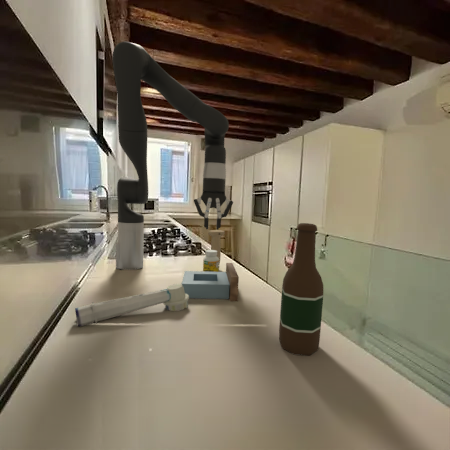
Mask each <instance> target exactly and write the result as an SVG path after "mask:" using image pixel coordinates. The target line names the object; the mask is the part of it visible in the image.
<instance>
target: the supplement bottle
mask: <svg viewBox="0 0 450 450" xmlns="http://www.w3.org/2000/svg"><path fill="white" fill-rule="evenodd" d="M204 255H205V256H204V257H203V259H202V260H203V262H202V271H209V272H220V270H219V269H220V264H219V258H218V257H217V251H216V250H211V249H206V250H205V254H204Z"/></svg>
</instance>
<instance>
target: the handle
mask: <svg viewBox="0 0 450 450" xmlns="http://www.w3.org/2000/svg"><path fill="white" fill-rule="evenodd" d="M207 234H208V236H210V237H211V245H210V250H216V251H217V257H218V258H219V265H220V263H221V256H222V255H221V254H222V253H221V238H222V236H224V235H225V230H221V229H219V230H216V229H213V230H212V229H211V230H209V229H208V230H207Z"/></svg>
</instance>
